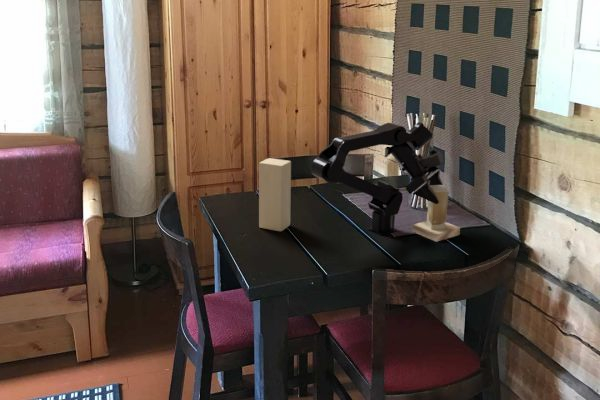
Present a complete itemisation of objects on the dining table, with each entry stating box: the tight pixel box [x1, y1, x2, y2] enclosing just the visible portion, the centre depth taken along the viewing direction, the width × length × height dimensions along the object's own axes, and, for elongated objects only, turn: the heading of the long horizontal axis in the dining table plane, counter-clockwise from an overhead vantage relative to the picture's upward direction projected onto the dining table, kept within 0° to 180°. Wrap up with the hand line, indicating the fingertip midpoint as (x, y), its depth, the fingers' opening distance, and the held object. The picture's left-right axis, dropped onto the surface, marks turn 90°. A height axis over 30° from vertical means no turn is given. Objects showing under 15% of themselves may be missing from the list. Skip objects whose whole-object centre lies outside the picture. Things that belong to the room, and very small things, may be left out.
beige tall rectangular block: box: [258, 157, 292, 232], centre depth 212 cm, size 8×7×21 cm
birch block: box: [412, 220, 461, 242], centre depth 210 cm, size 10×10×3 cm
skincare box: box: [426, 184, 450, 229], centre depth 207 cm, size 6×4×12 cm
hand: (441, 198), depth 206 cm, fingers open, 9 cm apart
